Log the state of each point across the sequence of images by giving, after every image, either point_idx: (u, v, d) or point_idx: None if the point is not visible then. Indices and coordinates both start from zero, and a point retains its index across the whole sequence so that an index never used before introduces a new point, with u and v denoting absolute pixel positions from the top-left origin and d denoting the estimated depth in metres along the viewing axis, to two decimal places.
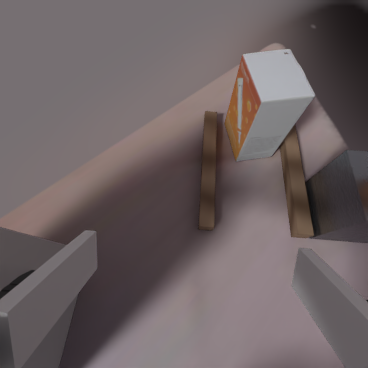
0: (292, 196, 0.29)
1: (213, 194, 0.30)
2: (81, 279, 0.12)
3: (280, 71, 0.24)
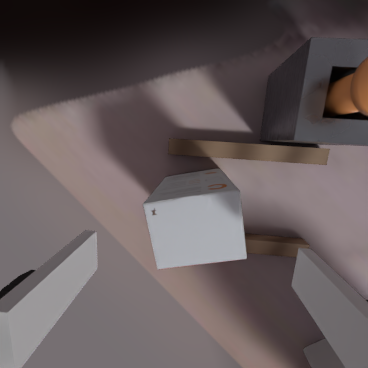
0: None
1: (273, 243, 0.29)
2: (81, 279, 0.12)
3: (192, 228, 0.17)
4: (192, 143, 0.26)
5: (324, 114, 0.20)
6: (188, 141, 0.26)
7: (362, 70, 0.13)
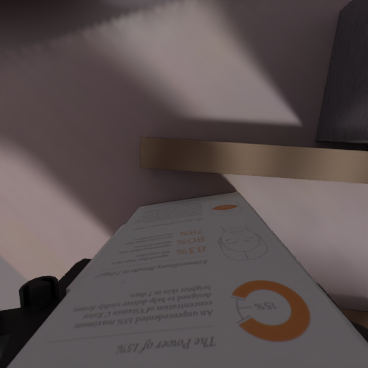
0: (367, 183, 0.13)
1: None
2: None
3: None
4: (187, 146, 0.13)
5: None
6: (179, 142, 0.13)
7: None
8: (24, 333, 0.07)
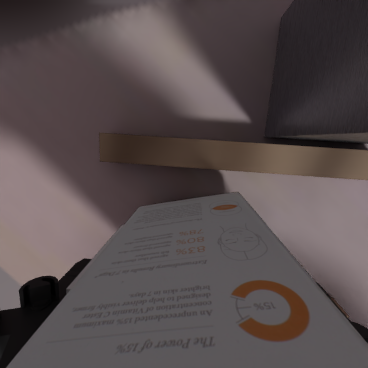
0: (306, 175, 0.14)
1: None
2: None
3: None
4: (142, 142, 0.14)
5: None
6: (134, 138, 0.14)
7: None
8: (24, 333, 0.07)
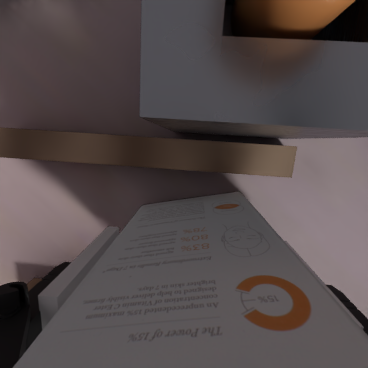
0: (209, 171, 0.14)
1: None
2: None
3: None
4: (38, 136, 0.14)
5: None
6: (31, 132, 0.14)
7: None
8: None
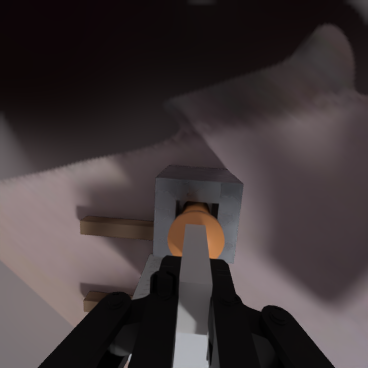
0: None
1: None
2: None
3: None
4: (101, 225, 0.29)
5: None
6: (97, 223, 0.29)
7: None
8: (153, 318, 0.07)
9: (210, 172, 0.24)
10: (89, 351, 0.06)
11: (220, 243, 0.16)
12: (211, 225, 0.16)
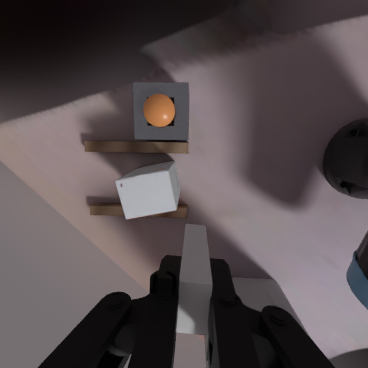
0: (160, 152, 0.40)
1: None
2: None
3: (144, 193, 0.30)
4: (99, 143, 0.40)
5: None
6: (97, 142, 0.40)
7: None
8: (153, 318, 0.07)
9: None
10: (89, 351, 0.06)
11: (172, 110, 0.29)
12: (166, 100, 0.29)
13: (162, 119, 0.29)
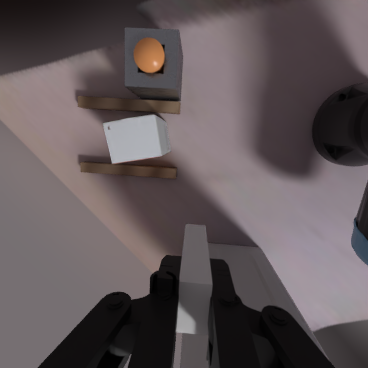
0: (151, 111, 0.40)
1: (152, 168, 0.43)
2: None
3: (130, 137, 0.31)
4: (92, 99, 0.40)
5: None
6: (90, 97, 0.40)
7: (134, 50, 0.30)
8: (153, 318, 0.07)
9: None
10: (89, 351, 0.06)
11: (161, 55, 0.30)
12: (156, 44, 0.29)
13: (151, 64, 0.30)
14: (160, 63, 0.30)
